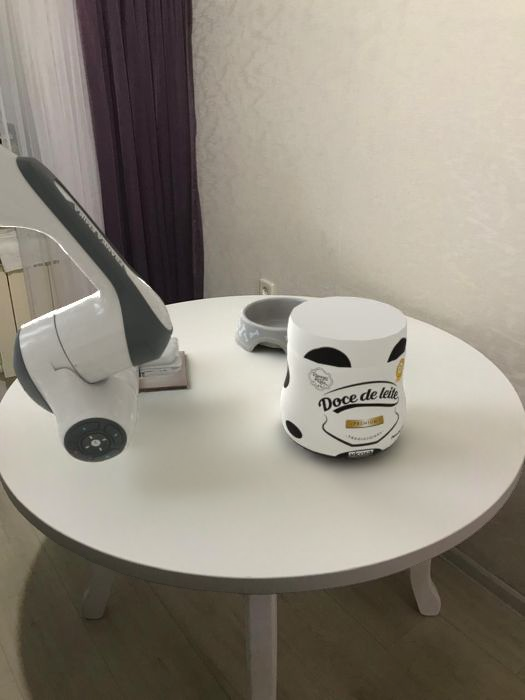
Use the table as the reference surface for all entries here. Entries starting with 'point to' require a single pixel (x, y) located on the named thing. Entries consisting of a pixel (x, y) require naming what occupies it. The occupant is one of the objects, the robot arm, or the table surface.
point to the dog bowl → (266, 322)
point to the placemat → (166, 380)
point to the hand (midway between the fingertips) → (113, 336)
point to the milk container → (344, 376)
